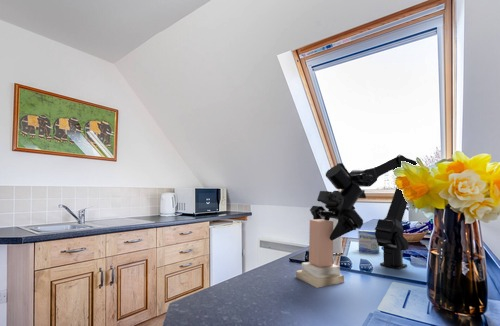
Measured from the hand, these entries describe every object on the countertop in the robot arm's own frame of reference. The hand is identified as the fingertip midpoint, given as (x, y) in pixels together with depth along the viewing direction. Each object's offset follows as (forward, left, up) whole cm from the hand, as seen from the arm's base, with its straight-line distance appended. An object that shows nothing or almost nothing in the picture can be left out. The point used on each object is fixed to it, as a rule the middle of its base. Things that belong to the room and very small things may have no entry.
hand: (320, 236), depth 88 cm
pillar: (0, 0, -8) cm, 8 cm away
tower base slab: (+1, 0, -13) cm, 13 cm away
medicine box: (-43, -14, -13) cm, 47 cm away
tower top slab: (0, 0, -11) cm, 11 cm away
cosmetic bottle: (-29, -20, -13) cm, 38 cm away
